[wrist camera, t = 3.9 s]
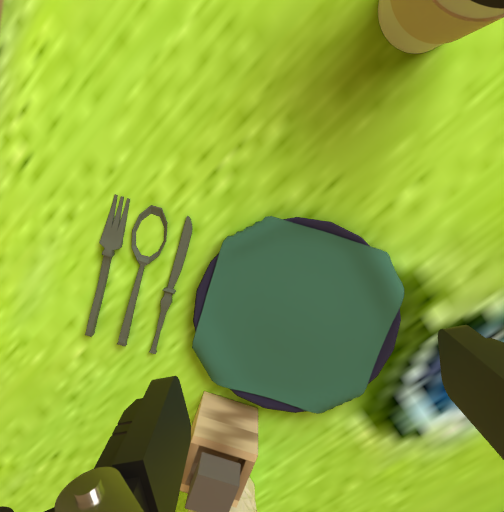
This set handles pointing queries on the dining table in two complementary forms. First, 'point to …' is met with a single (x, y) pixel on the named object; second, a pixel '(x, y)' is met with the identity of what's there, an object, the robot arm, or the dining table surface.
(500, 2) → the coffee cup
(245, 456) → the button box
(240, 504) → the tan cylinder
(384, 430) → the dining table surface
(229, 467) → the button cap
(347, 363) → the cutlery set
